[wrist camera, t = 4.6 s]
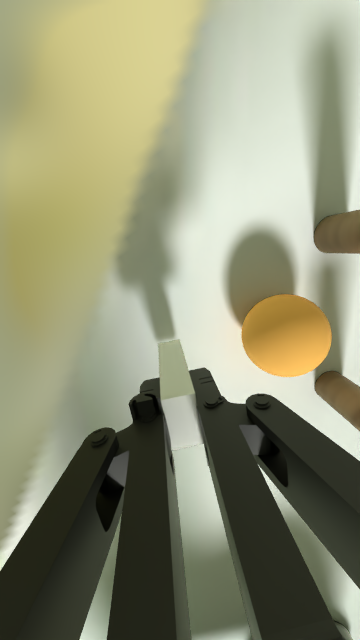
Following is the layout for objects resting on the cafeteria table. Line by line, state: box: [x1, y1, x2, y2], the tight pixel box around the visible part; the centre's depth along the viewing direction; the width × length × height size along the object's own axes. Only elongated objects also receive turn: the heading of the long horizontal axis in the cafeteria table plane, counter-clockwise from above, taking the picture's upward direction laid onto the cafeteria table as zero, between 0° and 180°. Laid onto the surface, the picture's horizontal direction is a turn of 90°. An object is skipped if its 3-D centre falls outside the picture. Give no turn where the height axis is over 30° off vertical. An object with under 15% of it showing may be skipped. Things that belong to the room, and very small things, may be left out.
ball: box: [242, 294, 332, 377], centre depth 16 cm, size 6×6×6 cm
